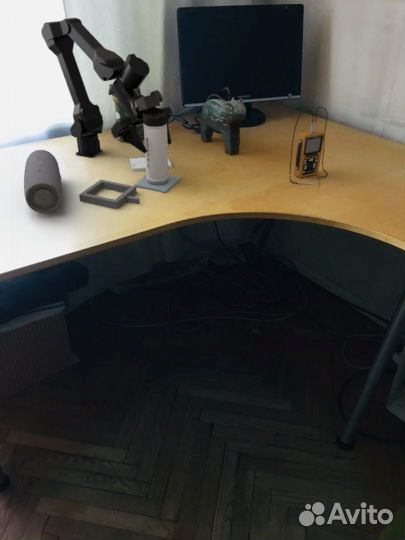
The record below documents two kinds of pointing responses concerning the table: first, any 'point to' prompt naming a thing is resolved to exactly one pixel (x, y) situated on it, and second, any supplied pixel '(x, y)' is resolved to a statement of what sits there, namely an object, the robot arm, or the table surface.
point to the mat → (159, 188)
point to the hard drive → (142, 164)
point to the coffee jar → (121, 115)
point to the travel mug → (156, 146)
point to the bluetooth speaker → (42, 182)
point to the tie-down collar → (106, 202)
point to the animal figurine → (223, 121)
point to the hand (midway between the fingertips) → (158, 148)
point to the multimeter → (309, 151)
